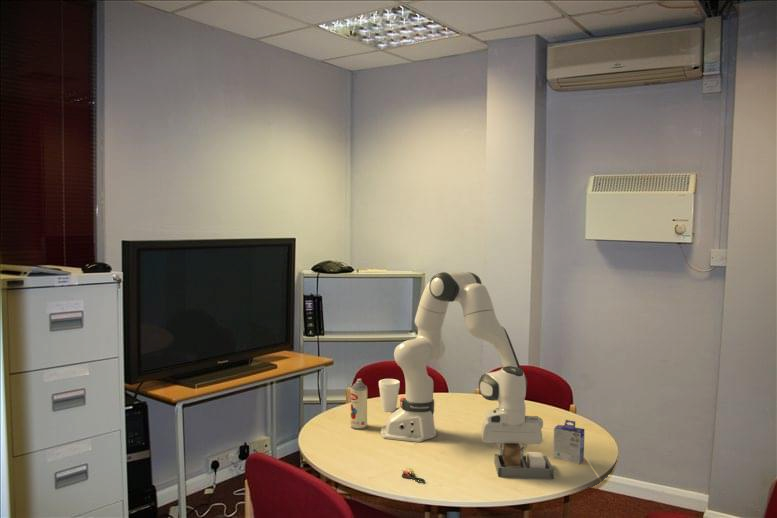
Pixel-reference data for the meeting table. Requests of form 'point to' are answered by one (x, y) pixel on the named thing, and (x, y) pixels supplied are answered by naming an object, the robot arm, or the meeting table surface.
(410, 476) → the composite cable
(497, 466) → the holder
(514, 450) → the walnut block
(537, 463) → the off-white block
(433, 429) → the robot arm
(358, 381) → the aerosol can
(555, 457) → the ink cartridge box
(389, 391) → the foam cup
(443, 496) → the meeting table surface
